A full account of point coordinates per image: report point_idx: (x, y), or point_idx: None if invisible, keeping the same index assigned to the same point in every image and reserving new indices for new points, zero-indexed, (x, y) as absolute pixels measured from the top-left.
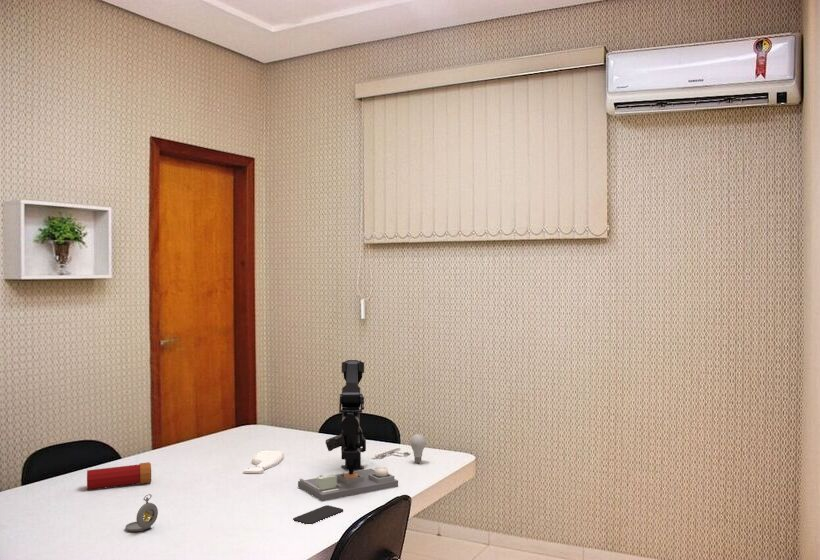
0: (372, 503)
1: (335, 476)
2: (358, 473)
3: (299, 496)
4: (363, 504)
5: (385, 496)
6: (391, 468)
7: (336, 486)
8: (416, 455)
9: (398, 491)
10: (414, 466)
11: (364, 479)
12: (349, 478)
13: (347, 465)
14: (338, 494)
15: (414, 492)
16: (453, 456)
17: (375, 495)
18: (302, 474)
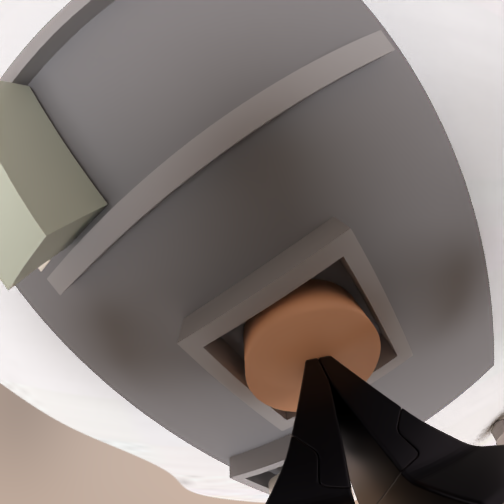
0: (40, 399)
1: (1, 278)
2: (453, 338)
3: (55, 6)
4: (16, 370)
5: (135, 445)
6: (497, 387)
7: (62, 249)
8: (502, 439)
9: (213, 473)
10: (479, 428)
11: None
12: (245, 352)
13: (295, 435)
14: None
15: (209, 494)
16: None
17: (134, 422)
18: (495, 8)
